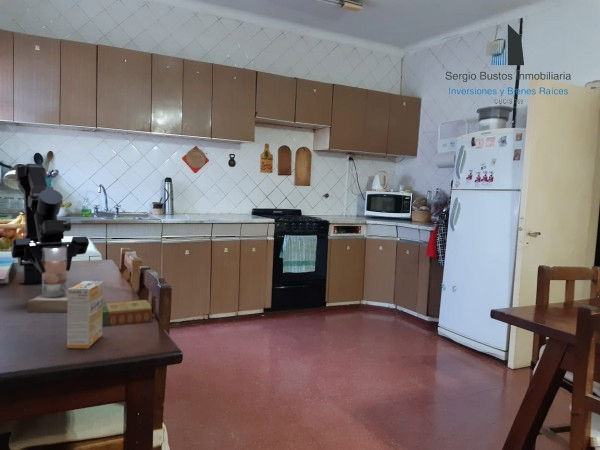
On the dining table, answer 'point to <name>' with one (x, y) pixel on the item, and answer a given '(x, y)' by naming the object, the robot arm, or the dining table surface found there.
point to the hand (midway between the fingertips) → (55, 271)
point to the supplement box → (84, 314)
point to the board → (48, 303)
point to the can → (54, 271)
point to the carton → (126, 312)
